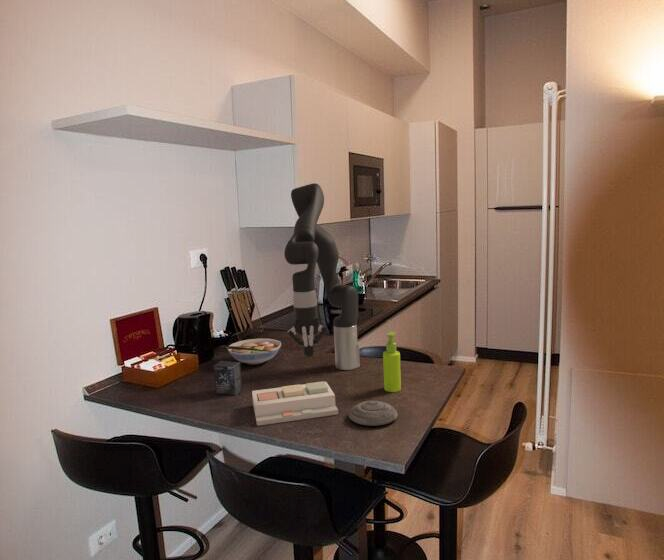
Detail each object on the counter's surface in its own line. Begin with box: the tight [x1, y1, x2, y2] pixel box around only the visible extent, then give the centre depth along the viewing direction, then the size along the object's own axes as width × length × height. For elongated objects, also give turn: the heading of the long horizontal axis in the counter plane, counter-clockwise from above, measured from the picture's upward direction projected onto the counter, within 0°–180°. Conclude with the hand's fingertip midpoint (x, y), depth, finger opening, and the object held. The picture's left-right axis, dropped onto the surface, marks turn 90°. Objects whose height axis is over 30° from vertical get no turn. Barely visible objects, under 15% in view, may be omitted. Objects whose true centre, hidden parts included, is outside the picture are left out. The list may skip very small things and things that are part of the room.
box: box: [213, 360, 243, 396], centre depth 179 cm, size 8×6×11 cm
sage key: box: [305, 381, 328, 395], centre depth 164 cm, size 6×6×3 cm
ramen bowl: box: [218, 338, 282, 366], centre depth 212 cm, size 25×23×8 cm
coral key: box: [258, 392, 278, 401], centre depth 160 cm, size 6×6×3 cm
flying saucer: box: [347, 400, 399, 427], centre depth 152 cm, size 15×15×6 cm
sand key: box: [281, 383, 303, 398], centre depth 162 cm, size 6×6×3 cm
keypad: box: [251, 381, 339, 426], centre depth 161 cm, size 25×16×5 cm, turn 103°
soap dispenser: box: [382, 331, 402, 393], centre depth 174 cm, size 6×7×20 cm
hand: (308, 356), depth 162 cm, fingers closed
